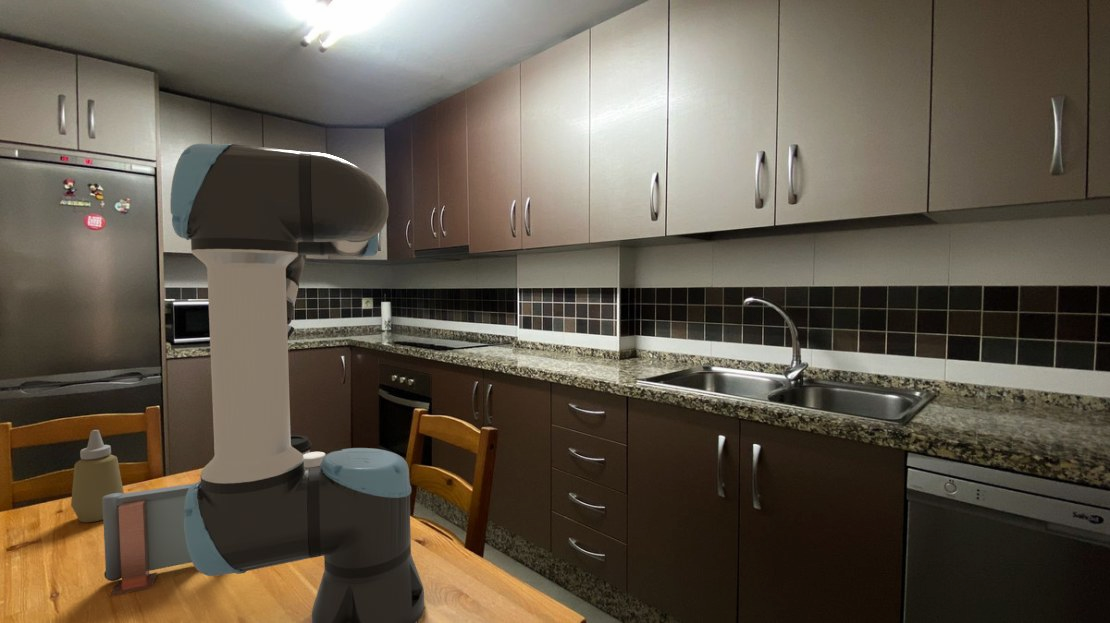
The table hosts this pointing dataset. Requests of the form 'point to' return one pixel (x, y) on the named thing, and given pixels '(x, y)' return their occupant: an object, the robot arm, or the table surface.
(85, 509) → the squeeze bottle
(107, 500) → the gate
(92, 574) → the table surface
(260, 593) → the table surface
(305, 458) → the sprinkles bottle
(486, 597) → the table surface
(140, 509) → the gate posts
